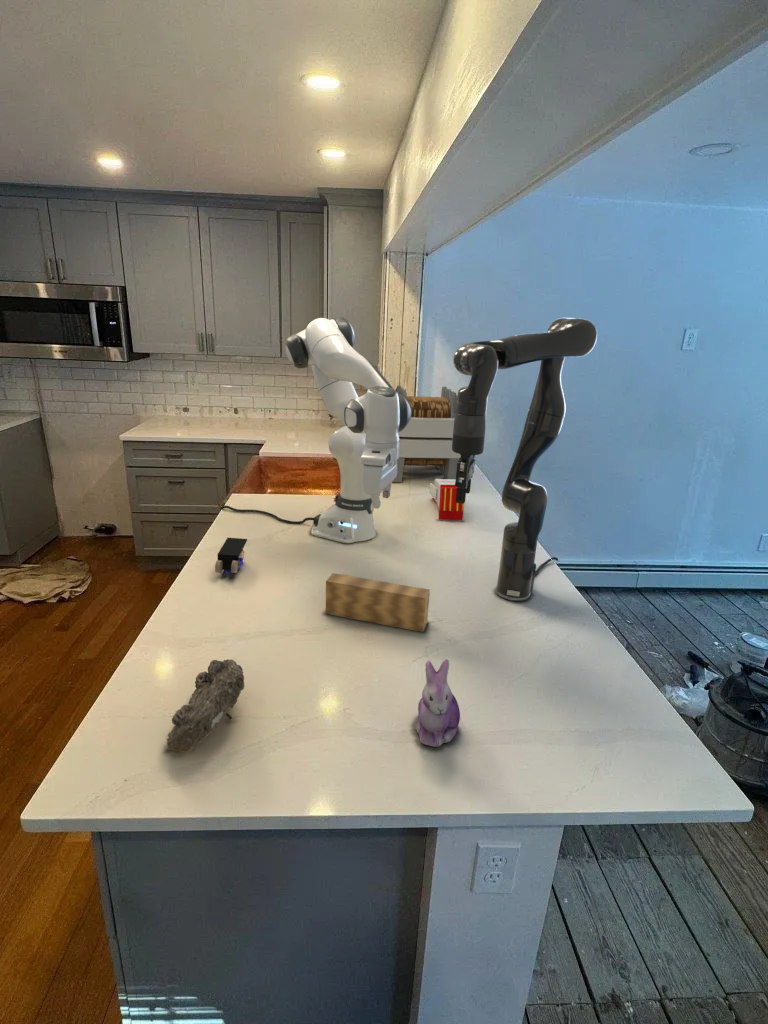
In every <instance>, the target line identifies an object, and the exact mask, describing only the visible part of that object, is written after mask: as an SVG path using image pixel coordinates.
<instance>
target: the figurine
mask: <svg viewBox="0 0 768 1024" xmlns="http://www.w3.org/2000/svg"><path fill="white" fill-rule="evenodd" d="M449 669H450V660H449V659H448V658H445V659H444V660H443V661H442V663H441V664H440V666H439V668H438V670H437V671H436V669H435V667H434V665H433V663H432V662H431V661H430V660H426V662H425V669H424V670H425V680H426V681H425V685H424V687H423V690H422V693H421V698H420V699H419V701H418V706H417V711H418V713H417V718H416V722H415V730H416V732H417V734H418V737H419V741H420V743H421V744H423V745H425V746H429V747H435V748H436V747H441V746H442V745H443V744H445V743H446V744H447V743H450V742H451V741H452V740H453V738H454V736H455V735H456V734H457V732H458V727H459V724H460V721H461V712H460V710H461V709H460V706H459V703H458V700H457V698H456V697H455V695H454V694H453V692H452V689H451V687H450V685H449V684H448V674H449Z"/></svg>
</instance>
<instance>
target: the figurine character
mask: <svg viewBox="0 0 768 1024" xmlns="http://www.w3.org/2000/svg"><path fill="white" fill-rule="evenodd" d="M247 542H248V538H240V537H226V539H225V541H224V543H223V544H222V546H221V547H220V549H219V551H218V552H217V560H216V562H215V564H214V572H215V573H221V577H222V578H224V577H225V576H226V574H227V573H230V574H231V573H232V574H231V578H234V577H235V575H236V573H237V572H239V571H240V567H242V566H243V565H244V564H245V562H244V558H245V551H244V547H245V546H246V544H247Z"/></svg>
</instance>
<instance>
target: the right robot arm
mask: <svg viewBox="0 0 768 1024" xmlns="http://www.w3.org/2000/svg"><path fill="white" fill-rule="evenodd" d="M597 339H598V330H597V327H596V325H595V324H594V323H593V322H592V321H591V320H589V319H585V318H575V317H559V318H556V319H554V320H553V321H552V322H551V323H550V325H549V326H548V329H547V331H545V332H534V333H522V334H516V335H511V336H506V337H502V338H498V339H494V340H493V339H492V340H482V341H471V342H467V343H464V344H463V345H461V346H459V347H458V348H457V350H456V351H455V353H454V354H453V367H454V368H455V370H456V371H457V372H458V373H460V374H462V375H464V376H470V380H469V383H468V385H466V386H462V387H460V388H459V389H458V392H457V394H456V395H457V404H456V415H455V419H454V427H453V438H452V451H453V452H455V453H459V454H460V455H461V457H460V458H459V460H457V471H456V481H455V487H456V488H457V491H456V503H462V504H463V503H464V504H465V503H466V496H467V494H470V492H471V487H472V486H471V485H472V479H473V475H474V473H475V466H476V456H479V455H482V454H483V453H484V449H485V441H486V440H485V439H486V438H485V437H486V430H487V408H488V399H489V396H490V395H489V394H490V392H491V390H492V387H493V385H494V381H495V378H496V376H497V373H498V370H507V369H508V370H509V369H511V368H516V367H520V366H523V365H527V364H531V363H535V362H536V363H537V362H539V361H540V363H539V370H538V374H537V378H536V382H535V383H536V384H535V386H534V391H533V394H532V397H531V401H530V404H529V406H528V407H529V408H528V410H527V415H526V418H525V421H524V426H523V430H522V434H521V437H520V440H519V444H518V447H517V450H516V452H515V453H516V454H515V457H514V459H513V462H512V464H511V466H510V470H509V472H508V475H507V477H506V480H505V482H504V485H503V489H502V492H501V503H502V506H503V507H504V508H505V509H507V510H508V511H511V512H513V513H516V514H517V515H519V516H518V521H517V522H516V521H515V522H509V523H507V524H506V525H505V526H504V528H503V534H502V535H503V536H502V543H501V551H500V558H499V559H500V560H499V567H498V575H497V582H496V587H495V588H496V589H495V592H496V594H497V595H498V596H499V597H501V598H503V599H505V600H507V601H512V602H523V601H526V600H528V599H530V596H531V595H533V590H534V583H535V577H536V575H537V574H539V572H540V571H541V570H542V568H543V567H544V566H546V565H547V564H549V563H550V562H551V561H554V560H555V561H557V562H558V561H559V559H558V557H556V556H553V557H550V558H551V559H552V560H551V559H550V558H548V559H547V560H545V561H544V562H543V563H542V564H540V565H539V566H538V567H537V564H536V563H535V561H536V553H537V546H538V540H539V535H540V533H541V531H542V529H543V524H544V520H545V515H546V511H547V506H548V491H547V489H546V487H545V486H543V485H541V484H539V483H537V482H533V481H531V475H532V472H533V470H534V467H535V465H536V463H537V462H538V460H539V459H540V458H541V457H542V455H543V454H545V452H547V450H548V449H550V447H551V446H552V445H553V444H554V443H555V442H556V441H557V439H558V437H559V435H560V433H561V429H562V426H563V424H564V420H565V416H566V410H567V408H566V400H565V396H564V390H563V386H562V372H563V366H564V362H565V359H566V358H568V357H570V358H580V357H585V356H586V355H588V354H589V353H591V351H593V349H594V348H595V345H596V344H597ZM459 481H460V482H459Z"/></svg>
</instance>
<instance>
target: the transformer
mask: <svg viewBox="0 0 768 1024" xmlns="http://www.w3.org/2000/svg"><path fill="white" fill-rule="evenodd" d="M394 390H395V391H396V392H398V393H399V394H401V395H402V396H403V397H404V398H405V399H406V400H407V402H408V404H409V406H410V408H411V418H410V421H409V423H408V424H407V426H406V427H405V428H404V429H403V430H402V431H400V432H398V435H399V459H397V477H396V478H395V479H394V480H393V481H392V483H402V482H403V475H404V469H405V466H406V467H407V466H411V467H412V466H413V467H415V466H416V467H417V466H418V467H436V468H437V470H438V469H439V473H440V474H441V475H443V479H456V471H457V460H459V458H460V457H461V455H460V454H459V453H455V452H453V451H452V438H453V427H454V419H455V415H456V404H457V395H458V394H457V392H455V391H453V390H452V389H451V388H447V386H442V387H441V392H440V393H441V394H440V396H415V395H414V396H413V395H412V396H411V395H407V394H408V393H407V390H406V389H404V388H403V387H402V385H399V384H398V385H397V386H396V388H395V389H394ZM459 482H461V480H460V481H459Z"/></svg>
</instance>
